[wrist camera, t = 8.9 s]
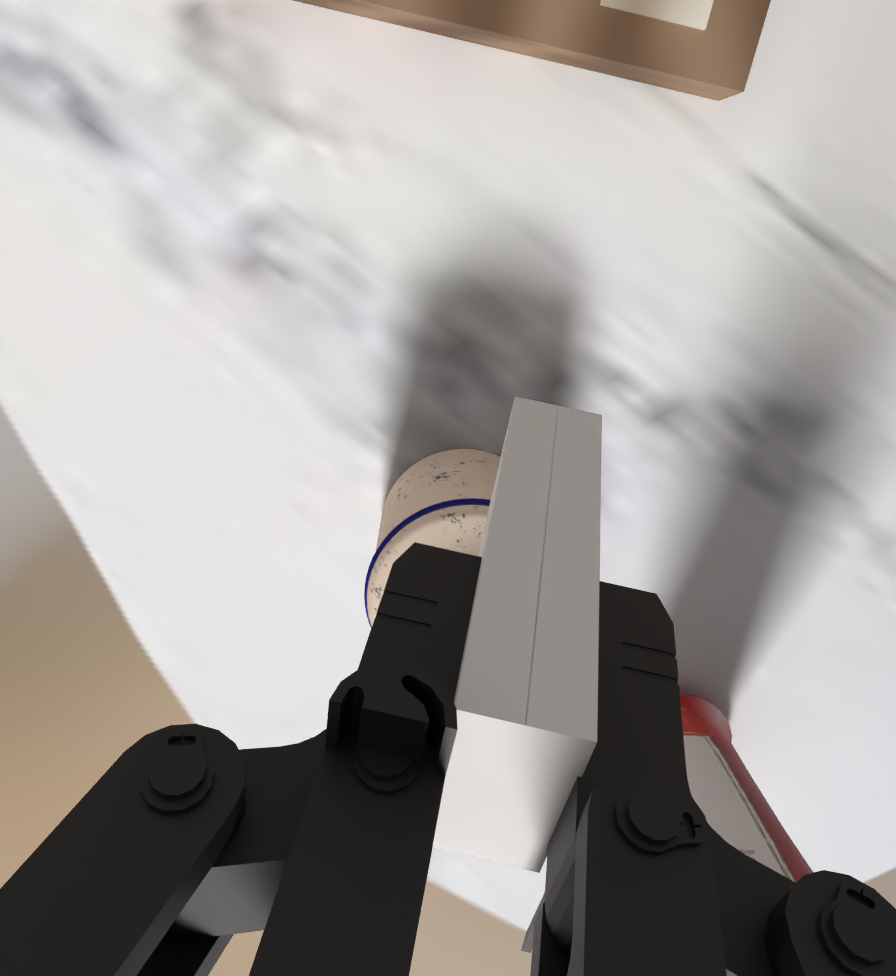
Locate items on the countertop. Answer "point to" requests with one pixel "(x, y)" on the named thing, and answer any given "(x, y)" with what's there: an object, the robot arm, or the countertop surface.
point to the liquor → (733, 791)
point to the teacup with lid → (433, 512)
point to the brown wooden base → (599, 34)
